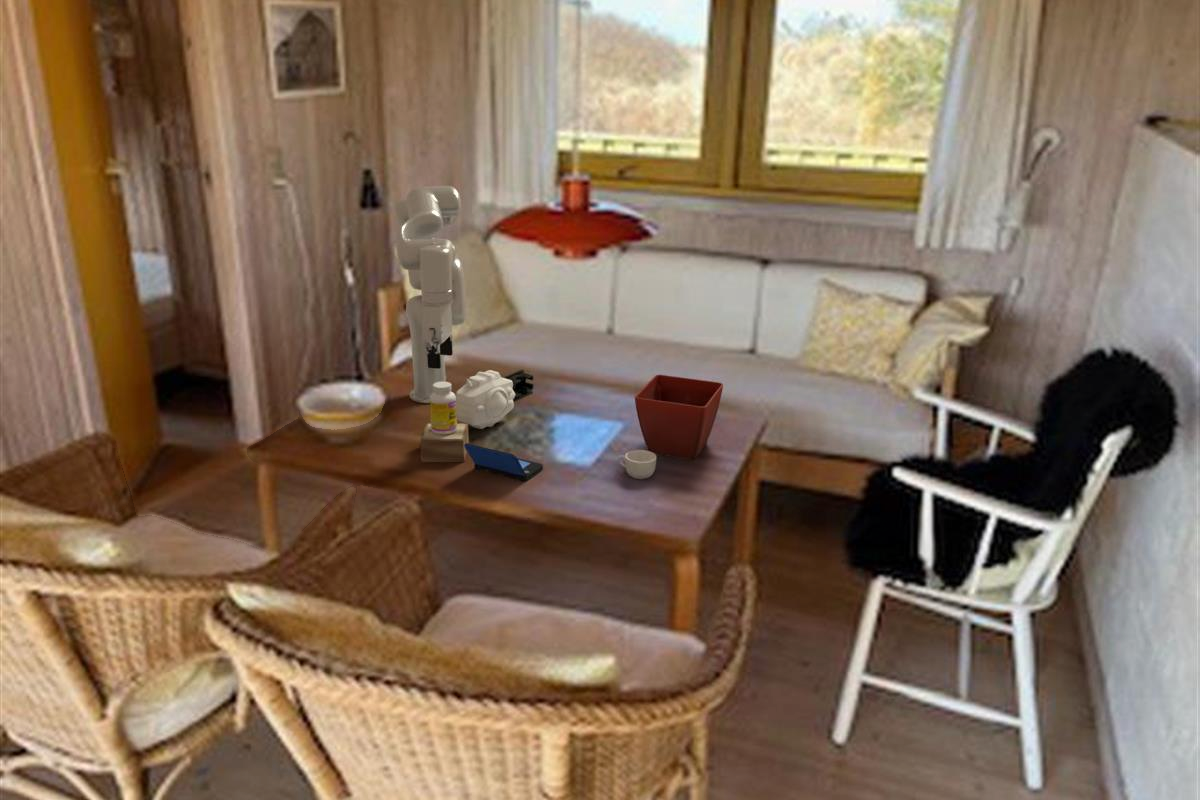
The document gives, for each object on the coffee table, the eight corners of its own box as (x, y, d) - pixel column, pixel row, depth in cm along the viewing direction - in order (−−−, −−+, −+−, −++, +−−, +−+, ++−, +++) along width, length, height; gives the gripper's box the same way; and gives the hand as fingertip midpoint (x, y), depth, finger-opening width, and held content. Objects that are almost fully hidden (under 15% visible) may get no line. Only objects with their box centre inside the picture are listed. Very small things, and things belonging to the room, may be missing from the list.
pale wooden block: (427, 444, 248) (426, 422, 246) (468, 444, 248) (467, 422, 246) (421, 461, 238) (420, 439, 236) (464, 461, 238) (463, 439, 236)
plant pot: (631, 456, 243) (633, 396, 237) (654, 429, 259) (656, 373, 253) (701, 468, 236) (705, 407, 230) (720, 440, 253) (724, 383, 247)
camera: (450, 430, 257) (448, 376, 251) (495, 411, 271) (493, 360, 265) (479, 440, 251) (477, 385, 245) (523, 420, 264) (522, 368, 259)
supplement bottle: (452, 436, 237) (449, 390, 233) (427, 434, 239) (424, 387, 234) (460, 426, 244) (458, 381, 239) (437, 424, 245) (434, 379, 240)
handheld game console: (545, 469, 235) (544, 436, 232) (516, 490, 224) (515, 455, 221) (494, 456, 242) (493, 424, 239) (463, 476, 231) (462, 442, 228)
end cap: (516, 388, 289) (516, 367, 287) (534, 392, 286) (534, 372, 283) (495, 397, 282) (495, 376, 279) (513, 402, 278) (513, 381, 275)
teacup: (660, 472, 234) (661, 453, 232) (648, 484, 227) (649, 465, 225) (624, 464, 238) (624, 445, 236) (611, 476, 231) (612, 457, 229)
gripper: (433, 286, 236) (436, 349, 243) (410, 305, 220) (415, 372, 227) (462, 287, 235) (464, 351, 242) (441, 307, 219) (444, 374, 226)
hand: (440, 361), depth 234 cm, fingers open, 9 cm apart
